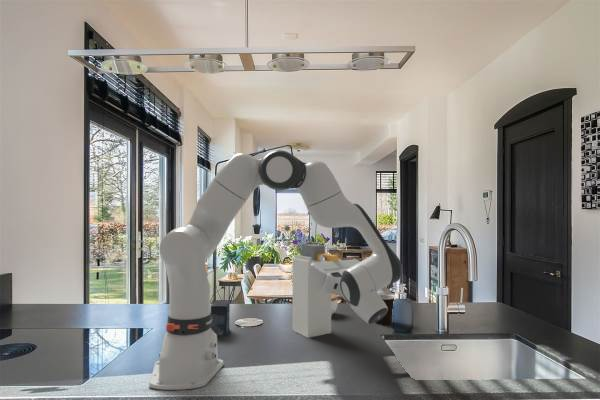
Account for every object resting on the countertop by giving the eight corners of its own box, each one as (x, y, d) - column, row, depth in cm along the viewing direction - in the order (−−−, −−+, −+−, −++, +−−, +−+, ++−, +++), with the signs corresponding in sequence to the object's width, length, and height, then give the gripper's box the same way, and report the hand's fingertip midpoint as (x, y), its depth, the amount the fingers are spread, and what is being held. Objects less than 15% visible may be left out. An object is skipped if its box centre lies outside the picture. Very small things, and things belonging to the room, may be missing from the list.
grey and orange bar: (340, 262, 135) (340, 247, 135) (330, 263, 132) (330, 248, 132) (312, 257, 149) (312, 244, 149) (301, 258, 146) (301, 244, 147)
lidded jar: (313, 310, 175) (313, 289, 175) (338, 311, 173) (338, 289, 173) (310, 317, 164) (311, 294, 164) (337, 318, 162) (337, 295, 163)
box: (226, 336, 139) (226, 305, 139) (210, 336, 139) (210, 305, 139) (229, 329, 147) (229, 300, 147) (214, 329, 146) (214, 300, 147)
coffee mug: (390, 327, 150) (390, 300, 151) (368, 323, 155) (368, 297, 155) (400, 320, 160) (399, 294, 160) (379, 316, 165) (379, 292, 165)
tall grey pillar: (331, 333, 143) (331, 256, 144) (307, 337, 138) (307, 257, 138) (315, 326, 151) (315, 253, 152) (292, 330, 146) (292, 255, 147)
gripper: (376, 271, 132) (352, 247, 142) (325, 276, 121) (304, 250, 131) (369, 286, 134) (346, 262, 145) (319, 293, 123) (298, 266, 134)
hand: (326, 256), depth 138 cm, fingers closed on grey and orange bar, 2 cm apart
